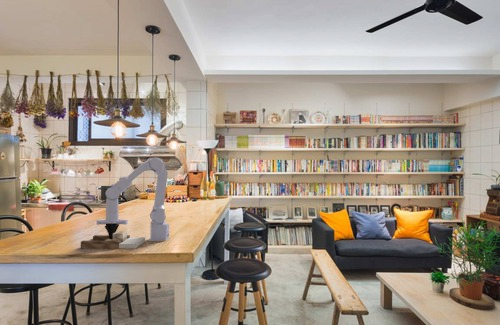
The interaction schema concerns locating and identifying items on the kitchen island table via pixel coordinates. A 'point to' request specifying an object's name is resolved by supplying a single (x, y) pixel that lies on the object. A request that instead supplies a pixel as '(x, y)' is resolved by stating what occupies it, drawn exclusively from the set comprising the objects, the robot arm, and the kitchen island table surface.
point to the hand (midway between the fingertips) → (111, 238)
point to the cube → (120, 236)
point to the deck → (112, 242)
